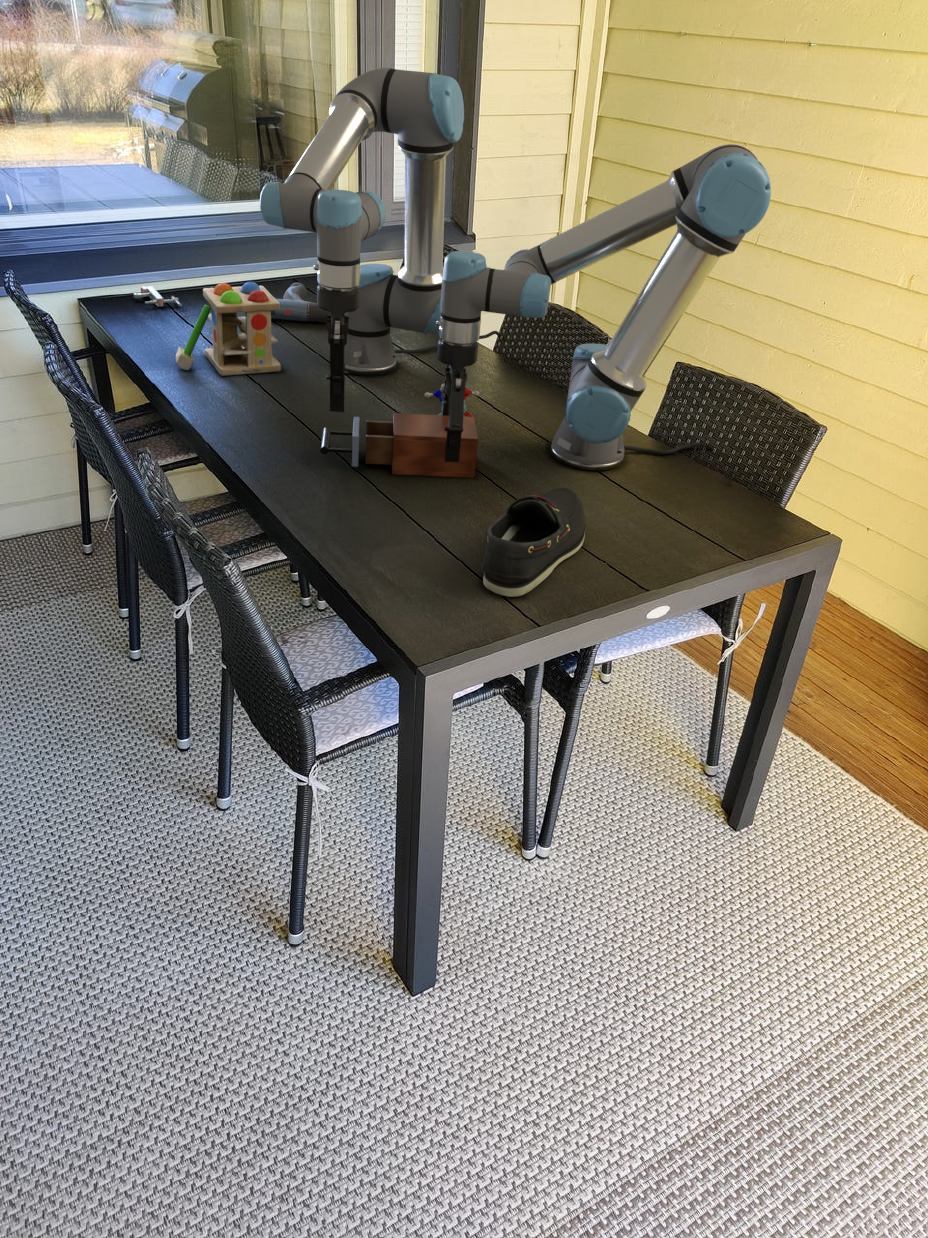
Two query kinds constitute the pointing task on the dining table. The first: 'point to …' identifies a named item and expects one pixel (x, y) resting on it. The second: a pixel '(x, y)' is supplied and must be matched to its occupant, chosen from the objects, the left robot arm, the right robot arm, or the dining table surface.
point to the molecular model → (438, 395)
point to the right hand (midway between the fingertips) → (449, 447)
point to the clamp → (155, 297)
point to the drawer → (376, 442)
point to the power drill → (298, 306)
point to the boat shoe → (532, 541)
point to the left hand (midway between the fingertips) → (337, 410)
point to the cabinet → (431, 446)
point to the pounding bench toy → (229, 347)
